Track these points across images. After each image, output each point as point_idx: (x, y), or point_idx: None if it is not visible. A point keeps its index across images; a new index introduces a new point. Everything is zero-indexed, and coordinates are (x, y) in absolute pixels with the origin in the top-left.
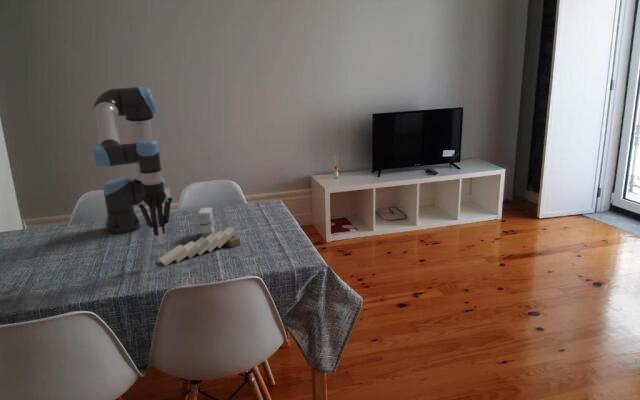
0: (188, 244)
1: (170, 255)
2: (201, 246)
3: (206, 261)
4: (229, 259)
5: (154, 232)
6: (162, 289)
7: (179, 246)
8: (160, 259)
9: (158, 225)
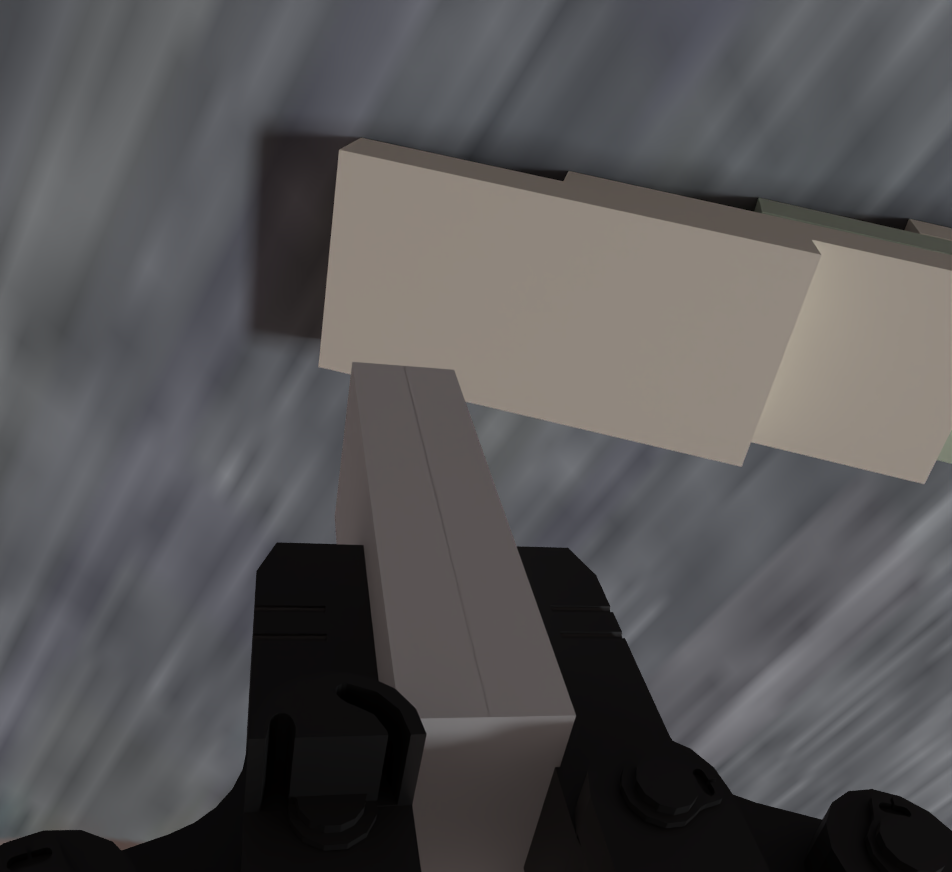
0: (902, 316)
1: (493, 333)
2: (944, 455)
3: (729, 580)
4: (869, 682)
5: (249, 690)
6: (4, 829)
7: (752, 305)
8: (347, 209)
9: (532, 747)
